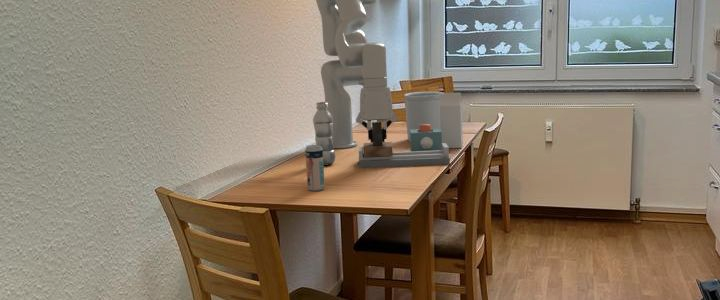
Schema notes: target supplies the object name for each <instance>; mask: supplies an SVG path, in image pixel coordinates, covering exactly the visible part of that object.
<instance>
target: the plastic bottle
mask: <svg viewBox="0 0 720 300" xmlns="http://www.w3.org/2000/svg"><path fill="white" fill-rule="evenodd" d="M327 108H328V102H325V101H323V102H322V101H321V102H316V109H317V110H316V112H315V114H314V115H313V119H312V123H313V128H314V133H315V136H316V141H315V145H321V147H322V149H323V166H329V165H331V164H334V162H335V161H336V152H335V148H333V141H332V127H333V118H332V115H331V114H330V112H329V111H328V109H327Z"/></svg>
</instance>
